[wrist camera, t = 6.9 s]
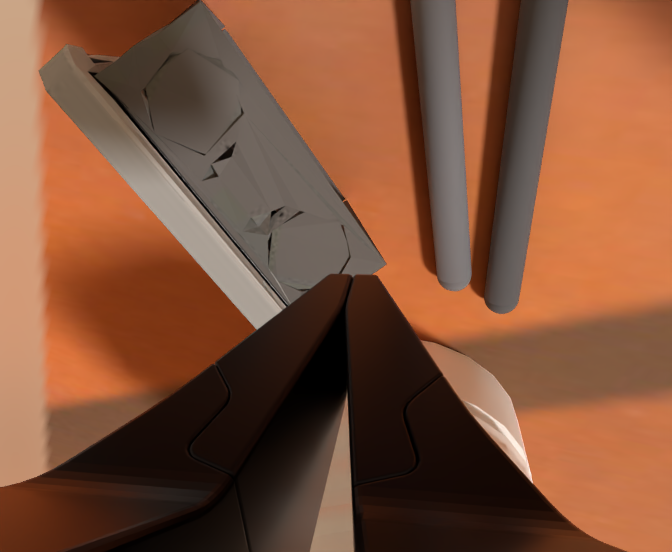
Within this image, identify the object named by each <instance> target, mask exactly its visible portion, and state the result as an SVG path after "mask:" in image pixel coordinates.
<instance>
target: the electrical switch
mask: <svg viewBox="0 0 672 552" xmlns="http://www.w3.org/2000/svg"><path fill="white" fill-rule="evenodd" d="M224 27H225V26H224V25H223V24H222V23H221V22H220V20H219V19H218V18H217V17H216V16H215V15H214V14H213V13H212V12H211V11H210V10H209V9H208V7H207V6H206V5H205V4H204V3H203V2H202V1H201V0H197V1H196V2H195V3H194V4H192V5H191V6H190V7H189V8H188V9H186V10H185V11H184V12H183V13H182V14H181V15H179V16H178V17H177V18H176V19H175V20H173V21H172V22H171V23H170V24H168V25H166V26H165V27H163V28H161V29H159V30H158V31H156V32H154V33H153V34H151V35H149V36H148V37H146V38H145V39H143V40H142V41H140V42H139V43H137V44H136V45H134V46H133V47H132V48H130V49H129V50H128V51H127V52H126V53H124V54H123V55H122V56H121V57H115V56H105V55H87V53H86V52H85V50H84V49H83V48H82V47H78V46H73V45H69V44H66V45H65V46H64V48H63V49H62V50H60V51H59V52H58V53H57V54H56V55H55V56H54V57H53V58H52V59H51V60H50V61H49V62H48V63H46V64H45V65H44V66H43V67H42V68H41V69H40V70H39V73H40V76H41V78H42V81H43V84H44V86H45V89H46V91H47V92H48V94H49V95H50V96H51V97H52V98H53V99H54V100H55V101H56V103H57V104H58V105H59V106H60V107H61V108H62V109H63V111H64V112H65V113H66V114H67V115H68V116H69V117H70V118H71V120H72V121H73V122H74V123H75V124H76V125H77V126H78V128H79V129H80V130H81V131H82V132H83V133H84V134H85V136H86V137H87V138H88V139H89V140H90V141H91V142H92V143H93V145H94V146H95V147H96V148H97V149H98V150H99V151H100V153H101V154H102V155H103V156H104V157H105V158H106V159H107V160H108V162H109V163H110V164H111V165H112V166H113V167H114V168H115V170H116V171H117V172H118V173H119V174H120V175H121V176H122V178H123V179H124V180H125V181H126V182H127V183H128V184H129V185H130V187H131V188H132V189H133V190H134V191H135V192H136V193H137V195H138V196H139V197H140V198H141V199H142V200H143V201H144V202H145V204H146V205H147V206H148V207H149V208H150V209H151V210H152V212H153V213H154V214H155V215H156V216H157V217H158V218H159V220H160V221H161V222H162V223H163V224H164V225H165V226H166V227H167V229H168V230H169V231H170V232H171V233H172V234H173V235H174V237H175V238H176V239H177V240H178V241H179V242H180V243H181V244H182V246H183V247H184V248H185V249H186V250H187V251H188V252H189V254H190V255H191V256H192V257H193V258H194V259H195V260H196V262H197V263H198V264H199V265H200V266H201V267H202V268H203V269H204V271H205V272H206V273H207V274H208V275H209V276H210V277H211V279H212V280H213V281H214V282H215V283H216V284H217V285H218V286H219V288H220V289H221V290H222V291H223V292H224V293H225V294H226V296H227V297H228V298H229V299H230V300H231V301H232V302H233V304H234V305H235V306H236V307H237V308H238V309H239V310H240V311H241V313H242V314H243V315H244V316H245V317H246V318H247V319H248V321H249V322H250V323H251V324H252V325H253V326H254V327H255V328H256V330H257V329H258V328H260V327H261V326H262V325H264V324H265V323H266V322H268V321H269V320H270V319H271V318H273V317H274V316H275V315H277V314H278V313H279V312H281V311H282V310H283V309H284V308H286V307H287V306H288V305H290V304H291V303H292V302H294V301H295V300H296V299H297V298H299V297H300V296H301V295H303V294H304V293H305V292H307V291H308V290H309V289H310V288H312V287H313V286H314V285H316V284H317V283H318V282H320V281H321V280H322V279H323V278H325V277H326V276H327V275H329V274H350V275H352V277H354V275H356V274H366V275H372V274H373V273H375V272H376V271H378V270H379V269H381V268H382V267H383V266H385V265H386V262H385V261H384V259H383V258H382V256H381V254H380V253H379V251H378V250H377V248H376V246H375V245H374V243H373V242H372V240H371V238H370V237H369V235H368V234H367V232H366V230H365V229H364V227H363V226H362V224H361V222H360V221H359V219H358V217H357V216H356V214H355V213H354V211H353V209H352V208H351V206H350V205H349V203H348V201H347V200H346V201H345V202H342V201H343V200H344V197H343V196H342V194H341V193H340V191H339V190H338V189H337V187H336V186H335V184H334V183H333V181H332V180H331V179H330V177H329V176H328V174H327V173H326V171H325V170H324V169H323V167H322V166H321V164H320V163H319V161H318V160H317V159H316V157H315V156H314V154H313V153H312V151H311V150H310V149H309V147H308V146H307V144H306V143H305V142H304V140H303V139H302V137H301V136H300V134H299V133H298V132H297V130H296V129H295V127H294V126H293V124H292V123H291V122H290V120H289V119H288V117H287V116H286V114H285V113H284V112H283V110H282V109H281V107H280V106H279V104H278V103H277V102H276V100H275V99H274V97H273V96H272V95H271V93H270V92H269V90H268V89H267V87H266V86H265V85H264V83H263V82H262V80H261V79H260V77H259V76H258V75H257V73H256V72H255V70H254V69H253V67H252V66H251V65H250V63H249V62H248V60H247V59H246V57H245V56H244V55H243V53H242V52H241V50H240V49H239V47H238V46H237V45H236V43H235V42H234V40H233V39H232V38H231V36H230V35H229V33H228V32H227V31H226V30H225V29H224V30H223V31H222V30H221V29H223V28H224Z"/></svg>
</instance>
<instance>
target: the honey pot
mask: <svg viewBox="0 0 672 552" xmlns="http://www.w3.org/2000/svg"><path fill="white" fill-rule="evenodd" d="M421 342H422V343H423V345H424V346H425V348H426V349H427V351H428V352H429V354H430V355H431V357H432V358H433V360H434V361H435V363H436V364H437V366H438V367H439V369H440V370H441V372H442V373H443V376H444V377H446V379H447V380H448V382H449V383H450V385H451V386H452V388H453V389H454V391H455V392H456V394H457V395H458V396H459V398H460V399H461V401H462V402H463V403H464V405H465V406H466V407H467V409H468V410H469V411H470V413H471V414H472V415H473V416H474V418H475V419H476V420H477V421H478V422H479V424H480V425H481V426H482V427H483V428H484V429H485V431H486V432H487V433H488V434H489V435H490V436H491V438H492V439H493V440H494V441H495V442H496V443H497V444H498V445H499V447H500V448H501V449H502V450H503V451H504V452H505V453H506V454H507V455H508V456H509V458H510V459H511V460H512V461H513V462H514V463H515V464H516V465H517V466H518V468H519V469H520V470H521V471H522V472H523V473H524V474H525V475H526V476H527V478H528V479H529V480H530V481H531V482H532V483H533V481H532V478H531V472H530V468H529V464H528V460H527V456H526V452H525V448H524V444H523V440H522V436H521V432H520V428H519V424H518V420H517V417H516V414H515V411H514V408H513V404H512V401H511V398H510V397H509V395H508V394H507V393H506V391H505V390H504V389H503V387H502V386H501V385H500V383H499V382H498V381H497V379H496V378H495V377H494V375H492V374H491V373H490V372H488V371H487V370H486V369H484V368H483V367H482V366H480V365H479V364H478V363H476V362H475V361H473V360H472V359H471V358H469V357H468V356H466V355H463V354H461V353H459V352H456V351H454V350H451V349H449V348H447V347H444V346H442V345H440V344H437V343H433V342H428V341H422V340H421ZM310 552H354V547H353V522H352V498H351V473H350V448H349V424H348V399H347V397H346V402H345V407H344V411H343V415H342V420H341V424H340V428H339V432H338V436H337V440H336V445H335V449H334V453H333V457H332V461H331V465H330V469H329V474H328V478H327V482H326V486H325V490H324V494H323V499H322V503H321V507H320V511H319V515H318V519H317V524H316V528H315V532H314V536H313V540H312V544H311V548H310Z"/></svg>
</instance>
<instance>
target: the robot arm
mask: <svg viewBox="0 0 672 552" xmlns="http://www.w3.org/2000/svg"><path fill="white" fill-rule="evenodd" d="M346 397H347V399H348V424H349V448H350V473H351V498H352V522H353V547H354V552H627V551H624V550H621V549H619V548H616V547H614V546H611V545H608V544H606V543H603V542H601V541H599V540H597V539H595V538H593V537H591V536H589V535H588V534H586V533H584V532H583V531H582V530H580V529H579V528H578V527H576V526H575V525H573V524H572V523H571V522H570V521H569V520H568V519H567V518H565V517H564V516H563V515H562V514H561V513H560V512H559V511H558V510H557V509H556V508H555V507H554V506H553V505H552V504H551V503H550V502H549V501H548V500H547V499H546V497H545V496H544V495H543V494H542V493H541V492H540V491H539V490H538V489H537V487H536V486H535V485H534V484H533V483H532V482H531V481H530V480H529V479H528V478H527V476H526V475H525V474H524V473H523V472H522V471H521V470H520V469H519V468H518V466H517V465H516V464H515V463H514V462H513V461H512V460H511V459H510V458H509V456H508V455H507V454H506V453H505V452H504V451H503V450H502V449H501V448H500V447H499V445H498V444H497V443H496V442H495V441H494V440H493V439H492V438H491V436H490V435H489V434H488V433H487V432H486V431H485V429H484V428H483V427H482V426H481V425H480V424H479V422H478V421H477V420H476V419H475V418H474V416H473V415H472V414H471V413H470V411H469V410H468V409H467V407H466V406H465V405H464V403H463V402H462V401H461V399H460V398H459V396H458V395H457V394H456V392H455V391H454V389H453V388H452V386H451V385H450V383H449V382H448V380H447V379H446V377H444V376H443V373H442V372H441V370H440V369H439V367H438V366H437V364H436V363H435V361H434V360H433V358H432V357H431V355H430V354H429V352H428V351H427V349H426V348H425V346H424V345H423V343H422V342H421V340H420V339H419V337H418V336H417V334H416V333H415V331H414V330H413V328H412V327H411V325H410V324H409V322H408V321H407V319H406V318H405V316H404V315H403V313H402V312H401V310H400V309H399V307H398V306H397V304H396V303H395V302H394V300H393V299H392V297H391V296H390V294H389V293H388V291H387V290H386V288H385V287H384V285H383V284H382V282H381V281H380V279H379V278H378V276H376V275H366V274H356V275H354V277H352V275H350V274H329V275H327V276H326V277H325V278H323V279H322V280H321V281H320V282H318V283H317V284H316V285H314V286H313V287H312V288H310V289H309V290H308V291H307V292H305V293H304V294H303V295H301V296H300V297H299V298H297V299H296V300H295V301H294V302H292V303H291V304H290V305H288V306H287V307H286V308H284V309H283V310H282V311H281V312H279V313H278V314H277V315H275V316H274V317H273V318H271V319H270V320H269V321H268V322H266V323H265V324H264V325H262V326H261V327H260V328H258V329H257V330H256V331H255V332H253V333H252V334H251V335H249V336H248V337H247V338H245V339H244V340H243V341H242V342H240V343H239V344H238V345H236V346H235V347H234V348H232V349H231V350H230V351H229V352H227V353H226V354H225V355H223V356H222V357H221V358H219V359H218V360H217V361H216V362H215V364H211V365H210V366H209V367H207V368H206V369H205V370H204V371H202V372H201V373H200V374H198V375H197V376H196V377H194V378H193V379H192V380H190V381H189V382H187V383H186V384H185V385H183V386H182V387H181V388H179V389H178V390H176V391H175V392H174V393H172V394H171V395H169V396H168V397H166V398H165V399H163V400H162V401H160V402H159V403H157V404H156V405H154V406H153V407H151V408H150V409H148V410H147V411H145V412H144V413H142V414H141V415H139V416H137V417H136V418H134V419H133V420H131V421H129V422H128V423H126V424H125V425H123V426H121V427H120V428H118V429H117V430H115V431H114V432H112V433H110V434H109V435H107V436H106V437H104V438H102V439H101V440H99V441H98V442H96V443H95V444H93V445H91V446H90V447H88V448H87V449H85V450H83V451H82V452H80V453H79V454H77V455H75V456H74V457H72V458H71V459H69V460H68V461H66V462H64V463H63V464H61V465H59V466H57V467H56V468H54V469H52V470H50V471H48V472H46V473H44V474H42V475H40V476H37V477H35V478H32V479H29V480H26V481H23V482H21V483H17V484H12V485H9V486H5V487H0V552H310V548H311V544H312V540H313V536H314V532H315V528H316V524H317V519H318V515H319V511H320V507H321V503H322V499H323V494H324V490H325V486H326V482H327V478H328V474H329V469H330V465H331V461H332V457H333V453H334V449H335V445H336V440H337V436H338V432H339V428H340V424H341V420H342V415H343V411H344V407H345V402H346Z"/></svg>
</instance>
